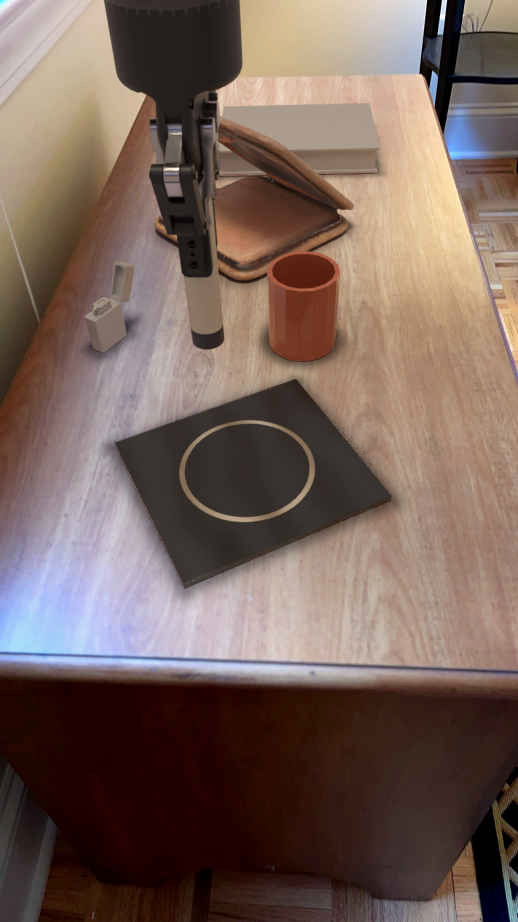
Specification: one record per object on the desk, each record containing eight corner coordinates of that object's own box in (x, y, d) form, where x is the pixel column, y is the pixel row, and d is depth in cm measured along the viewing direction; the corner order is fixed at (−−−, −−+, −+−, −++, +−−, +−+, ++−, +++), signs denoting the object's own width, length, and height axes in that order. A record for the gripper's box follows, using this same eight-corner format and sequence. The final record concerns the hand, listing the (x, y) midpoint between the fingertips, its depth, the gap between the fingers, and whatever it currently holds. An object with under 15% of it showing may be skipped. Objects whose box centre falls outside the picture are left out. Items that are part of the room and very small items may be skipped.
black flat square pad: (296, 382, 73) (296, 377, 72) (391, 500, 62) (392, 495, 61) (115, 446, 67) (114, 441, 67) (184, 588, 56) (183, 583, 56)
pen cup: (314, 313, 81) (317, 244, 74) (347, 348, 76) (353, 278, 70) (258, 332, 79) (255, 262, 72) (288, 369, 74) (288, 298, 68)
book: (379, 147, 101) (217, 150, 102) (377, 173, 104) (219, 176, 105) (368, 99, 114) (224, 103, 115) (366, 123, 117) (225, 127, 117)
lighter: (103, 353, 77) (88, 292, 71) (92, 348, 78) (76, 287, 72) (144, 321, 81) (133, 260, 75) (133, 316, 82) (121, 256, 76)
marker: (216, 326, 57) (202, 185, 48) (229, 343, 55) (217, 201, 46) (187, 335, 56) (167, 194, 47) (199, 353, 55) (182, 210, 46)
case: (360, 228, 94) (371, 103, 82) (243, 289, 85) (236, 159, 73) (260, 178, 104) (257, 62, 92) (147, 228, 95) (127, 106, 83)
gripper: (226, 21, 33) (244, 320, 46) (247, -49, 42) (257, 215, 55) (72, 24, 33) (132, 319, 46) (127, -46, 43) (164, 215, 55)
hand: (200, 261), depth 50 cm, fingers closed on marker, 2 cm apart
